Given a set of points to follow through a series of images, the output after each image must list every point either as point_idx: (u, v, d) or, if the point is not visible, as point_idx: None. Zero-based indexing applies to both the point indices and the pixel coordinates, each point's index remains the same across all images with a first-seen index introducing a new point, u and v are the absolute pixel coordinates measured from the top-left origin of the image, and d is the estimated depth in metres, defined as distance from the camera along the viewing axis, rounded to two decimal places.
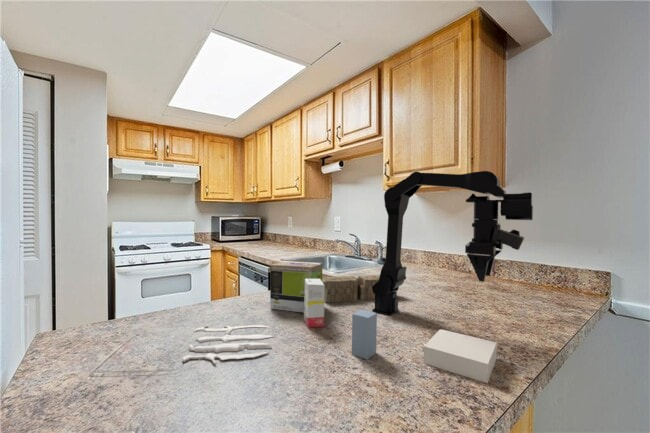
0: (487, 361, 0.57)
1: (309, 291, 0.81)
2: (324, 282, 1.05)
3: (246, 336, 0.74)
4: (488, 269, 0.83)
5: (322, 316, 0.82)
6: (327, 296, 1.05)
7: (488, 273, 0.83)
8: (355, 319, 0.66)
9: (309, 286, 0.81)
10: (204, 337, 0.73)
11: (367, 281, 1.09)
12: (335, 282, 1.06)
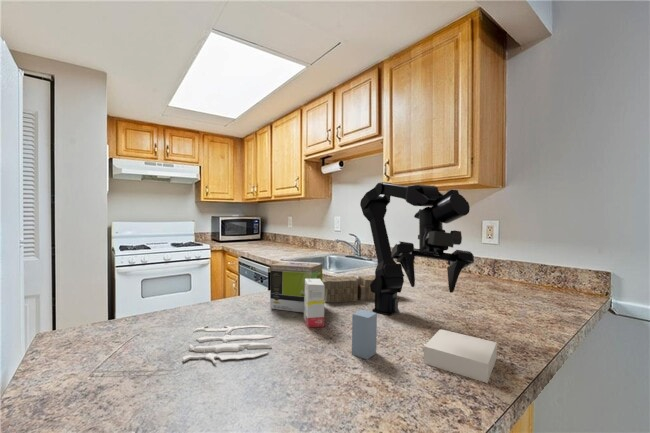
0: (487, 361, 0.57)
1: (309, 291, 0.81)
2: (324, 282, 1.04)
3: (246, 336, 0.74)
4: (451, 284, 0.71)
5: (322, 316, 0.82)
6: (327, 296, 1.05)
7: (451, 289, 0.70)
8: (355, 319, 0.66)
9: (309, 286, 0.81)
10: (204, 337, 0.73)
11: (367, 281, 1.09)
12: (335, 282, 1.06)
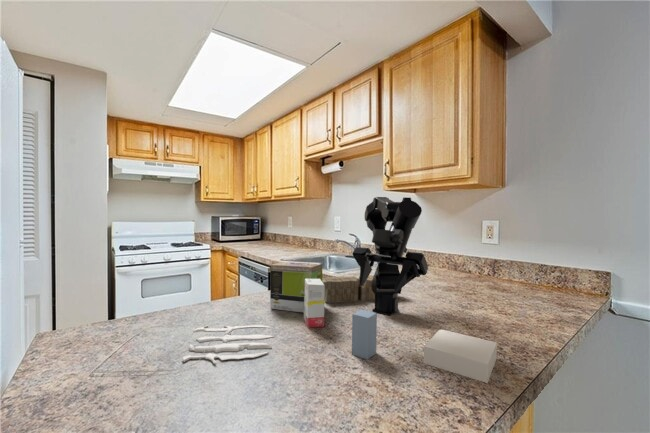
0: (487, 361, 0.57)
1: (309, 291, 0.81)
2: (324, 282, 1.04)
3: (246, 336, 0.74)
4: None
5: (322, 316, 0.82)
6: (327, 296, 1.04)
7: None
8: (355, 319, 0.66)
9: (309, 286, 0.81)
10: (204, 337, 0.73)
11: (368, 281, 1.09)
12: (335, 282, 1.05)
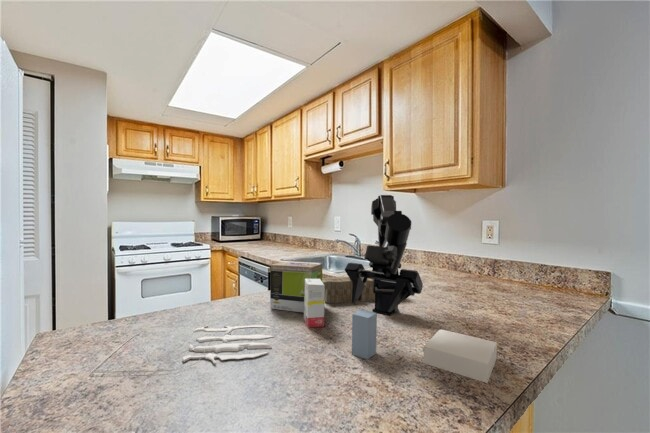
0: (487, 361, 0.57)
1: (309, 291, 0.81)
2: (324, 282, 1.04)
3: (246, 336, 0.74)
4: None
5: (322, 316, 0.82)
6: (327, 297, 1.04)
7: None
8: (355, 319, 0.66)
9: (309, 286, 0.81)
10: (204, 337, 0.73)
11: (368, 282, 1.08)
12: (335, 283, 1.05)
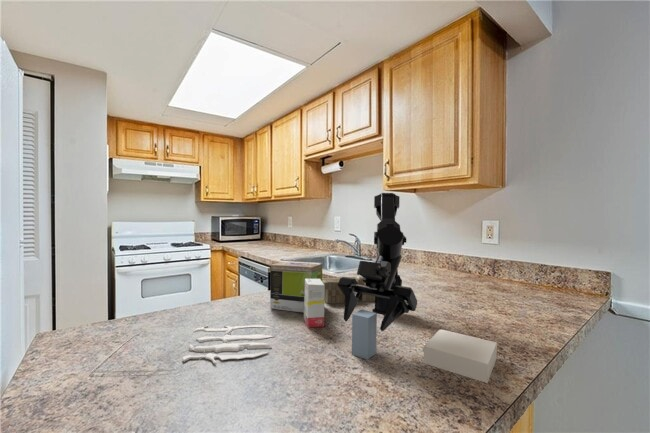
0: (487, 361, 0.57)
1: (309, 291, 0.81)
2: (325, 283, 1.03)
3: (246, 336, 0.74)
4: None
5: (322, 316, 0.82)
6: (328, 297, 1.04)
7: None
8: (355, 319, 0.66)
9: (309, 286, 0.81)
10: (204, 337, 0.73)
11: None
12: (336, 283, 1.04)
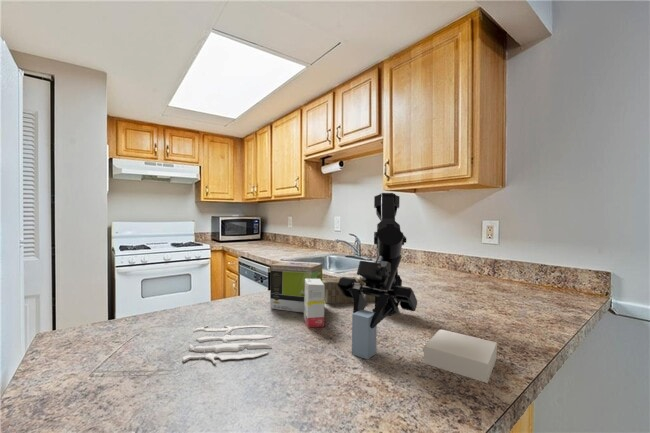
0: (487, 361, 0.57)
1: (309, 291, 0.81)
2: (325, 283, 1.03)
3: (246, 336, 0.74)
4: None
5: (322, 316, 0.82)
6: (328, 297, 1.04)
7: None
8: (355, 319, 0.66)
9: (309, 286, 0.81)
10: (204, 337, 0.73)
11: None
12: (336, 283, 1.04)
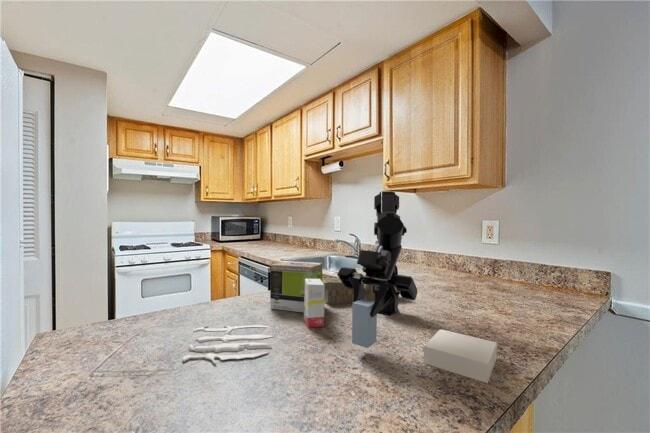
0: (487, 361, 0.57)
1: (309, 291, 0.81)
2: (325, 283, 1.03)
3: (246, 336, 0.74)
4: None
5: (322, 316, 0.82)
6: (328, 297, 1.03)
7: None
8: (355, 308, 0.66)
9: (309, 286, 0.81)
10: (204, 337, 0.73)
11: None
12: (336, 283, 1.04)
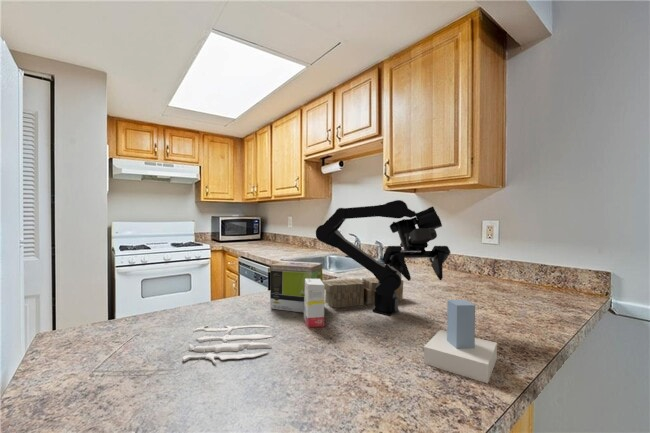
0: (487, 361, 0.57)
1: (309, 291, 0.81)
2: (330, 286, 0.99)
3: (246, 336, 0.74)
4: (438, 273, 0.83)
5: (322, 316, 0.82)
6: (333, 301, 0.99)
7: (440, 276, 0.82)
8: (460, 310, 0.62)
9: (309, 286, 0.81)
10: (204, 337, 0.73)
11: (374, 284, 1.05)
12: (341, 286, 1.00)
